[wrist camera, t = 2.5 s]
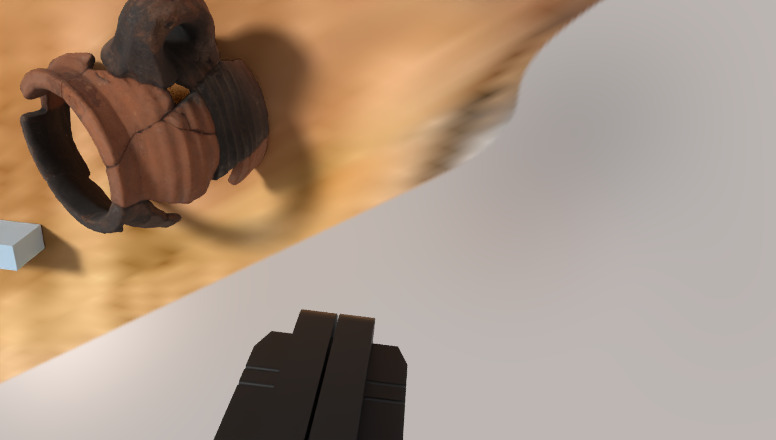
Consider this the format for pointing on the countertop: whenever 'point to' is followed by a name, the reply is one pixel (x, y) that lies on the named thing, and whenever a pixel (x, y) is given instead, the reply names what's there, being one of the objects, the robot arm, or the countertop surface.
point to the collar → (19, 243)
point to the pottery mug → (146, 117)
